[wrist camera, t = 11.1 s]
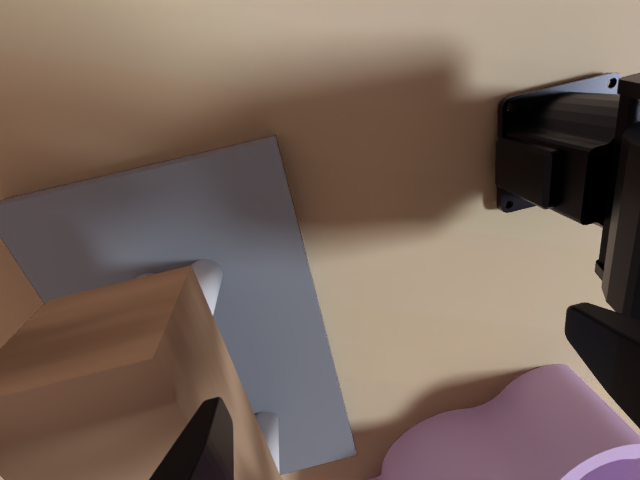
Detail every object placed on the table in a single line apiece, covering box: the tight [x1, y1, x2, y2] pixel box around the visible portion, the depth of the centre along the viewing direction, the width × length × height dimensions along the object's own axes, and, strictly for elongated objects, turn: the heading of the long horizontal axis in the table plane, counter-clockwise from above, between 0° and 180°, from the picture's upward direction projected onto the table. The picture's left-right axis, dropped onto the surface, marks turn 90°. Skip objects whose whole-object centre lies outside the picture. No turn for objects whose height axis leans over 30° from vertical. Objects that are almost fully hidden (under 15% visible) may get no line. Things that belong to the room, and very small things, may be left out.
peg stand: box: [0, 135, 357, 475], centre depth 20 cm, size 14×24×6 cm, turn 12°
